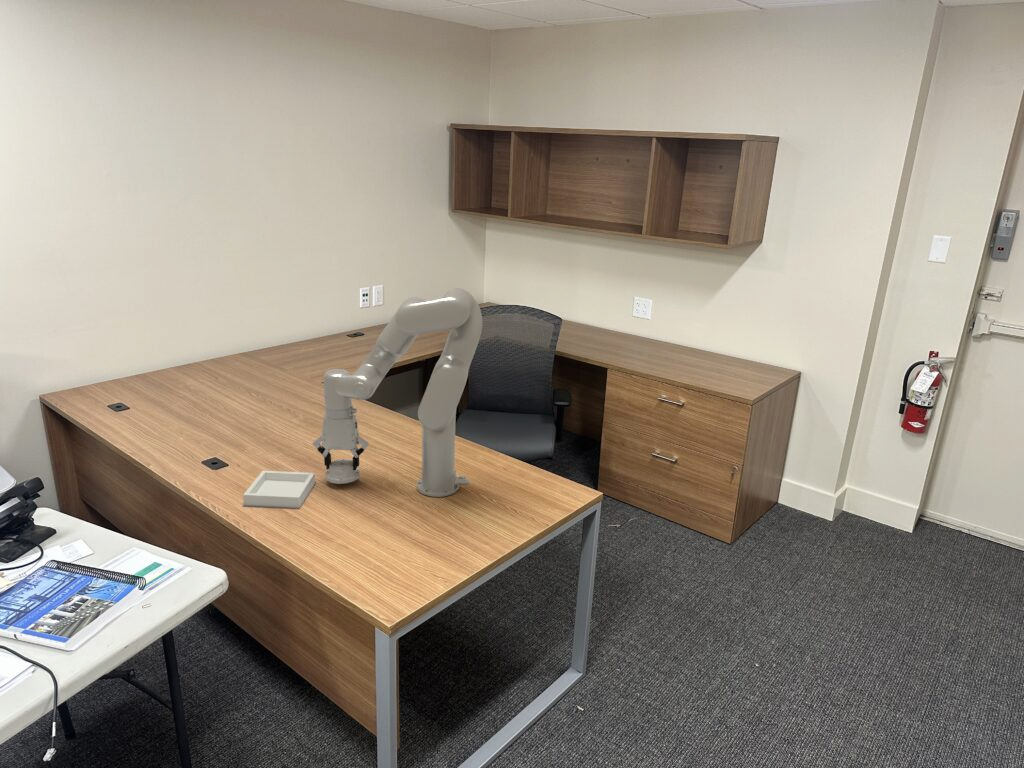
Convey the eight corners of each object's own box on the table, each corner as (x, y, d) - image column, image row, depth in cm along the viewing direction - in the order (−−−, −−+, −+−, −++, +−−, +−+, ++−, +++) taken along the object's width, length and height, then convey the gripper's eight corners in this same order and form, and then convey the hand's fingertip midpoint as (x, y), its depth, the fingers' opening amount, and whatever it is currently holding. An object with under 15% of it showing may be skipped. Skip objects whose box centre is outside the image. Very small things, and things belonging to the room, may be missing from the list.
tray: (315, 482, 212) (314, 473, 211) (299, 507, 197) (299, 497, 196) (263, 480, 212) (262, 470, 211) (244, 505, 197) (243, 494, 196)
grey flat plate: (316, 482, 213) (316, 481, 213) (299, 510, 197) (299, 509, 196) (264, 480, 213) (264, 479, 213) (242, 507, 197) (242, 506, 197)
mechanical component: (367, 476, 213) (345, 467, 219) (366, 463, 212) (344, 453, 218) (339, 487, 206) (318, 477, 212) (339, 474, 204) (317, 464, 210)
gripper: (371, 408, 209) (374, 463, 215) (312, 406, 210) (316, 461, 215) (366, 417, 202) (368, 474, 208) (305, 415, 202) (309, 472, 208)
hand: (342, 467), depth 212 cm, fingers closed on mechanical component, 7 cm apart
